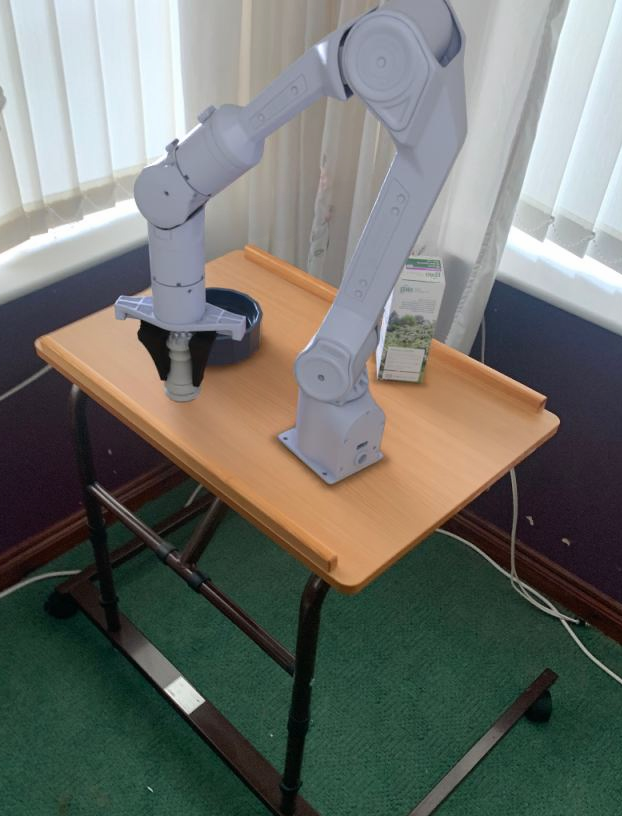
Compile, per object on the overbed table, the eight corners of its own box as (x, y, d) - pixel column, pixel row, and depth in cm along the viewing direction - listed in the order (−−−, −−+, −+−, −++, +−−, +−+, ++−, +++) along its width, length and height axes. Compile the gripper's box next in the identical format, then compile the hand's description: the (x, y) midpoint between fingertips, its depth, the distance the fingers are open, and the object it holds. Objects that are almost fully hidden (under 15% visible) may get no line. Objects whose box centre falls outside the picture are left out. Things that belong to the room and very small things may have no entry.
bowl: (279, 349, 103) (281, 319, 100) (200, 381, 98) (200, 350, 95) (225, 307, 110) (226, 278, 107) (149, 334, 105) (147, 304, 101)
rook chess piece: (183, 376, 97) (181, 319, 91) (209, 392, 94) (208, 335, 89) (156, 392, 94) (152, 335, 89) (181, 409, 92) (179, 351, 86)
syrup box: (419, 358, 102) (442, 253, 92) (422, 385, 98) (447, 280, 88) (375, 354, 103) (393, 250, 92) (376, 382, 99) (395, 276, 88)
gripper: (254, 265, 85) (250, 370, 94) (127, 245, 87) (136, 349, 97) (236, 298, 80) (234, 405, 90) (102, 276, 82) (114, 383, 92)
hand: (182, 379), depth 93 cm, fingers closed on rook chess piece, 3 cm apart
